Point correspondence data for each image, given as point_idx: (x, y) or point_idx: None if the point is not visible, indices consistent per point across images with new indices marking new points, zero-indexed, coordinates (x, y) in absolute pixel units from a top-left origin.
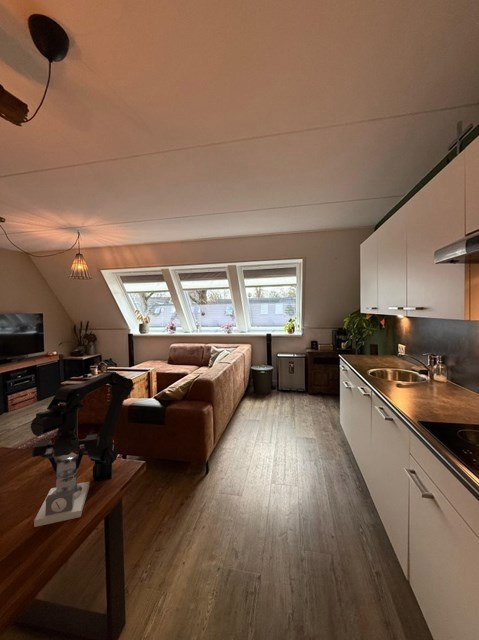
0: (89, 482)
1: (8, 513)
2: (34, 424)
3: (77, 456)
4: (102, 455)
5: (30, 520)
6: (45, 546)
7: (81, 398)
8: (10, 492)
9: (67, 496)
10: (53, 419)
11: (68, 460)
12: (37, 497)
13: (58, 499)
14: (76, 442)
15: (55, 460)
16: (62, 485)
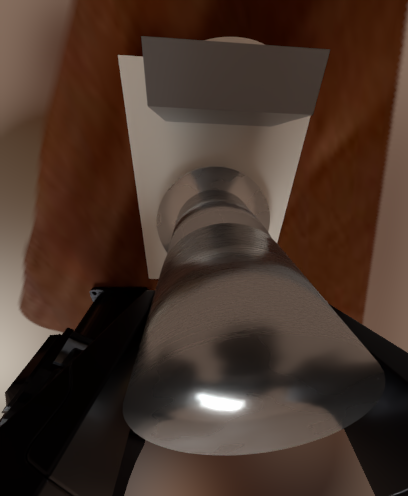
0: (149, 276)
1: (371, 214)
2: None
3: (127, 420)
4: (45, 380)
5: (315, 140)
6: None
7: None
8: (355, 305)
9: (179, 44)
10: None
11: (230, 373)
12: (295, 264)
13: (239, 41)
14: None
15: (396, 403)
16: (234, 207)
